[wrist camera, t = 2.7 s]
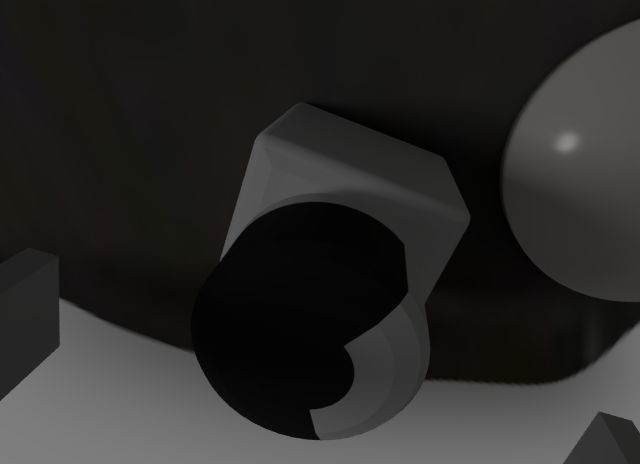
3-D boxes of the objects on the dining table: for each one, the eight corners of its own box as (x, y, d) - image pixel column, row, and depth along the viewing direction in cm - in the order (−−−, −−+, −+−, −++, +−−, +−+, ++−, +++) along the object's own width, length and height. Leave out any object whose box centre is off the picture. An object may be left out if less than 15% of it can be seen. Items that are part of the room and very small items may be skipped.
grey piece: (254, 234, 23) (134, 417, 12) (298, 98, 20) (190, 178, 9) (384, 283, 23) (382, 509, 12) (447, 157, 20) (521, 306, 9)
